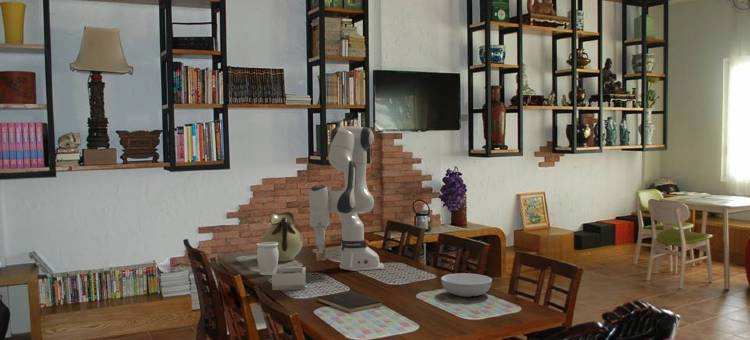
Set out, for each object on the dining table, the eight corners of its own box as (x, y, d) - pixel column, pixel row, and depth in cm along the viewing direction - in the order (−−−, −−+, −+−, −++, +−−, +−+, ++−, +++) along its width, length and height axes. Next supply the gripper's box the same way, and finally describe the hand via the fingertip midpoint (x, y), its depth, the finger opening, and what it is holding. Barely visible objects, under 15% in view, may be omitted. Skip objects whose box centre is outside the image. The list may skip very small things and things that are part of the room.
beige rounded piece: (282, 254, 372) (281, 210, 370) (313, 258, 358) (312, 213, 356) (253, 261, 354) (252, 215, 352) (285, 265, 340) (284, 218, 338)
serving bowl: (460, 303, 259) (460, 286, 259) (431, 292, 278) (431, 276, 277) (502, 296, 269) (502, 280, 268) (472, 286, 287) (471, 271, 287)
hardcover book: (349, 314, 247) (349, 308, 247) (317, 302, 266) (317, 296, 266) (383, 307, 257) (383, 301, 257) (350, 295, 275) (349, 290, 275)
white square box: (305, 282, 300) (305, 267, 299) (304, 289, 286) (304, 273, 285) (274, 283, 299) (274, 267, 298) (272, 290, 285) (271, 274, 285)
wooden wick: (325, 259, 296) (324, 237, 296) (325, 260, 294) (324, 238, 294) (316, 259, 296) (315, 237, 295) (316, 260, 294) (315, 238, 293)
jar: (274, 276, 313) (273, 245, 312) (254, 275, 315) (253, 244, 314) (281, 271, 324) (281, 241, 323) (262, 271, 326) (261, 241, 325)
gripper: (326, 224, 284) (327, 256, 285) (326, 218, 304) (328, 247, 305) (312, 225, 283) (313, 257, 284) (313, 218, 304) (314, 248, 305)
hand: (320, 252), depth 295 cm, fingers closed on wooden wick, 2 cm apart
